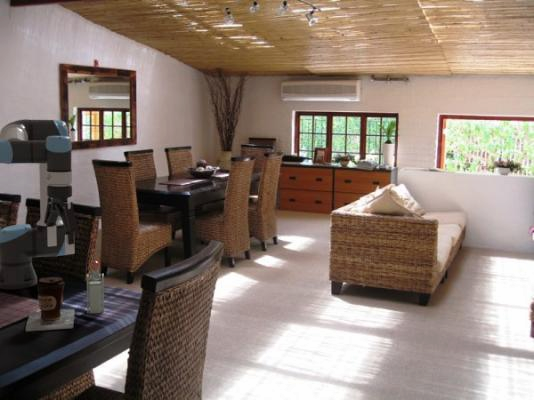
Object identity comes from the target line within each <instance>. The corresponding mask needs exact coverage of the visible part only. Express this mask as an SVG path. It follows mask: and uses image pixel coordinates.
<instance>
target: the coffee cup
mask: <svg viewBox="0 0 534 400" xmlns="http://www.w3.org/2000/svg"><path fill="white" fill-rule="evenodd" d="M36 289H37V291H38V293H37V301H38V307H39V311H41V319H44V320H55V319H59V318H61V314H60V310H62V309H61V308H62V306H63V301H64V289H65V281H63V277H60V276H50V277H42V278H39V279H38V281H37V284H36Z"/></svg>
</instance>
